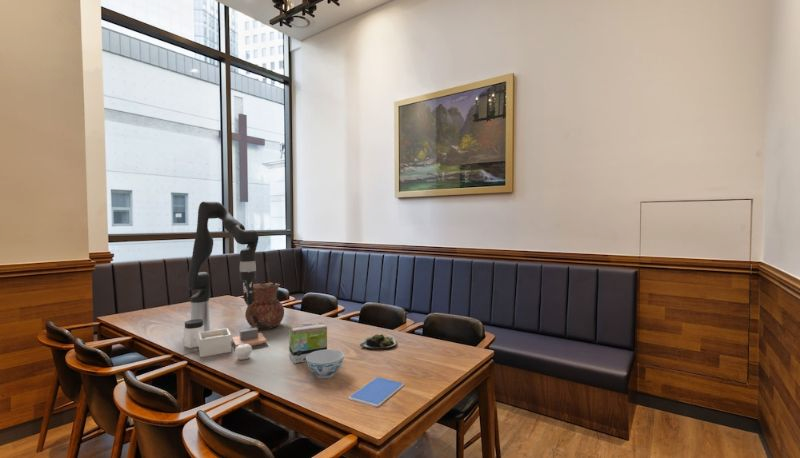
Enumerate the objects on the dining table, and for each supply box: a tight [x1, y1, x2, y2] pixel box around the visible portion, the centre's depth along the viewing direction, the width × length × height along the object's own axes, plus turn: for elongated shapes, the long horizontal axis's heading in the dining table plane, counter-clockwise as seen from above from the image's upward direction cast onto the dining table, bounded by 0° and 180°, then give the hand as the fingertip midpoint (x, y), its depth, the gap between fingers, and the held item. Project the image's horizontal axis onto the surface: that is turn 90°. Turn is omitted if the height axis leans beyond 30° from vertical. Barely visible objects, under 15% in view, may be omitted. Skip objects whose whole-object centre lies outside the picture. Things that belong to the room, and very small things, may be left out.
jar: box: [183, 319, 204, 349], centre depth 186 cm, size 9×8×12 cm
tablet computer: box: [348, 376, 405, 408], centre depth 134 cm, size 19×13×1 cm, turn 152°
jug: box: [242, 282, 285, 331], centre depth 217 cm, size 22×21×25 cm
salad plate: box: [359, 333, 397, 351], centre depth 186 cm, size 19×18×5 cm
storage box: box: [198, 327, 232, 358], centre depth 178 cm, size 13×13×8 cm
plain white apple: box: [234, 341, 253, 361], centre depth 167 cm, size 7×7×8 cm
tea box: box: [288, 321, 328, 365], centre depth 167 cm, size 15×10×15 cm
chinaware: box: [305, 348, 345, 379], centre depth 149 cm, size 15×15×8 cm
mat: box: [231, 340, 269, 351], centre depth 186 cm, size 17×15×1 cm
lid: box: [231, 327, 267, 347], centre depth 186 cm, size 14×14×7 cm
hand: (248, 302), depth 186 cm, fingers open, 8 cm apart
